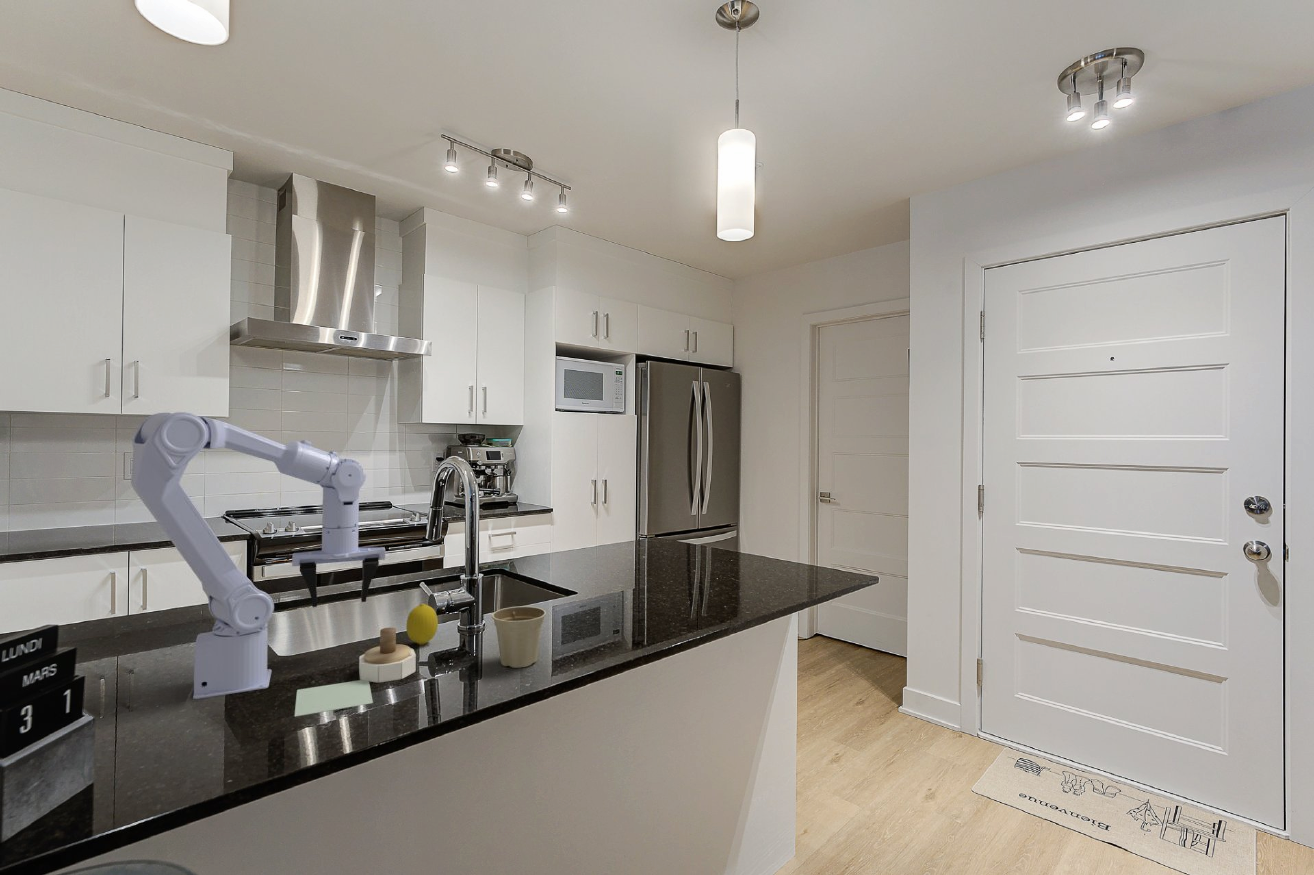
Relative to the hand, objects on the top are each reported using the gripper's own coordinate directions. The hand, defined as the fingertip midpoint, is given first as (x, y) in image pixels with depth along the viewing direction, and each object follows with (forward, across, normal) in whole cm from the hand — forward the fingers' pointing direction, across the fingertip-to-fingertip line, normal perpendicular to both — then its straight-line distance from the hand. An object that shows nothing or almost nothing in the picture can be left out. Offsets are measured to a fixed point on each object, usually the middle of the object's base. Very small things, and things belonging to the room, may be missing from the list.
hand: (339, 603), depth 110 cm
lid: (+7, +7, -11) cm, 15 cm away
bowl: (+10, +7, -11) cm, 16 cm away
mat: (+10, -1, -18) cm, 21 cm away
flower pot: (+10, +28, -15) cm, 33 cm away
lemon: (+10, +14, +1) cm, 17 cm away
